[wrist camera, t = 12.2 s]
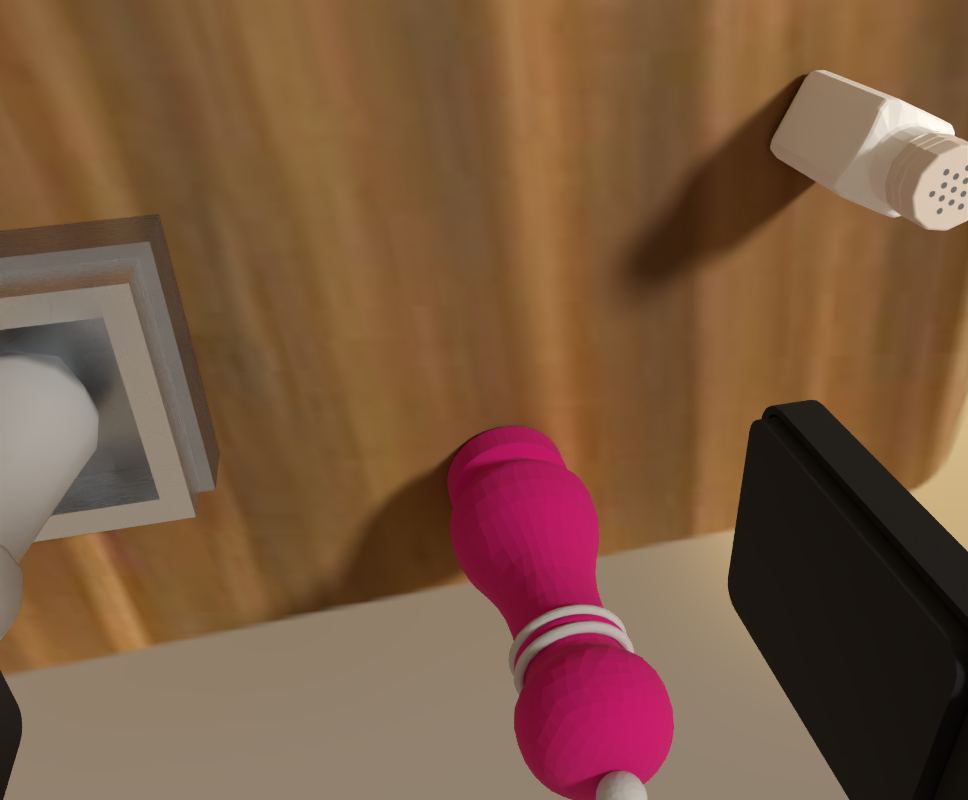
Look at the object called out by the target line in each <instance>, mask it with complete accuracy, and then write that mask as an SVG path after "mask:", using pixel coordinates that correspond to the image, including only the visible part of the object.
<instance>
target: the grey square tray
mask: <svg viewBox="0 0 968 800" xmlns="http://www.w3.org/2000/svg"><path fill="white" fill-rule="evenodd" d="M5 351H16V352H24V353H32V354H41V355H49V356H57V357H60V359H61V360H62V361H63V362H64V363H65V364H66V365H67V367H68V368H69V369H70V370H71V371H72V372H73V373H74V375H75V376H76V377H77V378H78V379H79V380H80V381H81V383H82V384H83V385H84V386H85V387H86V388H87V390H88V391H89V393H90V395H91V398H92V400H93V402H94V404H95V406H96V408H97V411H98V413H99V422H98V441H97V449H96V450H95V452H94V453H93V455H92V456H91V457H90V459H89V460H88V461H87V463H86V464H85V466H84V467H83V468H82V470H81V471H80V473H79V474H78V476H77V477H76V479H75V480H74V482H73V483H72V485H71V486H70V488H69V489H68V491H67V492H66V494H65V495H64V497H63V498H62V500H61V501H60V503H59V504H58V506H57V507H56V508H55V510H54V511H53V513H52V514H51V516H50V517H49V519H48V520H47V522H46V523H45V525H44V526H43V528H42V529H41V531H40V532H39V534H38V535H37V537H36V538H35V540H34V541H33V542H37V541H43V540H50V539H56V538H63V537H69V536H76V535H82V534H88V533H95V532H101V531H108V530H114V529H121V528H127V527H134V526H140V525H147V524H153V523H160V522H166V521H173V520H179V519H185V518H192V517H196V511H197V504H198V496H199V492H203V491H209V490H215V489H216V479H217V470H218V460H219V449H218V445H217V441H216V437H215V433H214V429H213V425H212V421H211V417H210V413H209V409H208V405H207V402H206V398H205V394H204V390H203V386H202V382H201V378H200V374H199V370H198V366H197V362H196V358H195V355H194V351H193V347H192V343H191V339H190V335H189V331H188V327H187V323H186V319H185V315H184V311H183V307H182V304H181V300H180V296H179V292H178V288H177V284H176V280H175V276H174V272H173V268H172V264H171V260H170V257H169V253H168V249H167V245H166V241H165V237H164V233H163V229H162V225H161V221H160V217H159V215H151V216H141V217H132V218H122V219H113V220H104V221H94V222H85V223H75V224H66V225H57V226H47V227H38V228H28V229H19V230H9V231H0V353H2V352H5Z"/></svg>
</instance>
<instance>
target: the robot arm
mask: <svg viewBox="0 0 968 800" xmlns="http://www.w3.org/2000/svg"><path fill="white" fill-rule="evenodd" d="M728 590H729V595H730V599H731V602H732V605H733V606H734V609H735V610H736V612H737V613H738V615H739V617H740V619H741V620H742V622H743V624H744V625H745V627H746V629H747V630H748V632H749V634H750V635H751V637H752V639H753V640H754V642H755V644H756V645H757V647H758V649H759V650H760V652H761V654H762V655H763V657H764V658H765V660H766V662H767V663H768V665H769V667H770V669H771V670H772V672H773V674H774V675H775V677H776V679H777V680H778V682H779V684H780V685H781V687H782V688H783V690H784V692H785V693H786V695H787V697H788V698H789V700H790V702H791V703H792V705H793V707H794V708H795V710H796V712H797V713H798V715H799V717H800V718H801V720H802V722H803V723H804V725H805V727H806V728H807V730H808V732H809V733H810V735H811V736H812V738H813V740H814V742H815V743H816V745H817V747H818V748H819V750H820V752H821V753H822V755H823V757H824V758H825V760H826V762H827V763H828V765H829V766H830V768H831V770H832V772H833V773H834V775H835V777H836V778H837V780H838V782H839V783H840V785H841V786H842V788H843V790H844V791H845V793H846V795H847V796H848V798H849V800H968V552H967V550H966V549H965V548H964V547H962V545H961V544H959V543H958V541H957V540H956V539H955V538H954V537H953V536H952V535H951V534H950V533H949V532H947V530H946V529H945V528H944V527H943V526H942V525H941V524H940V523H939V522H938V521H937V520H936V519H935V518H934V517H933V516H932V515H931V514H930V513H929V512H928V511H927V510H926V509H925V508H924V507H923V506H922V505H921V504H920V503H919V502H918V501H917V500H916V499H915V498H914V497H913V496H912V495H911V494H910V493H909V492H908V491H907V490H906V489H905V488H904V487H903V486H902V485H901V484H900V483H899V482H898V481H897V480H896V479H895V478H894V477H893V476H892V475H891V474H890V473H889V472H888V471H887V469H886V468H885V467H884V466H883V465H882V464H881V463H880V462H879V461H878V460H877V459H876V458H875V457H874V456H873V455H872V454H871V453H870V452H869V451H868V450H867V449H866V448H865V447H864V446H863V445H862V444H861V443H860V442H859V441H858V440H857V439H856V438H855V437H854V436H853V435H852V434H851V433H850V432H849V431H848V430H847V429H846V428H845V427H844V426H843V425H842V424H841V423H840V422H839V421H838V420H837V419H836V418H835V417H834V416H833V415H832V414H831V413H830V412H829V411H828V410H827V409H826V408H825V407H824V406H823V405H822V404H821V403H819V402H818V401H815V400H807V401H800V402H794V403H787V404H780V405H774V406H770V407H768V408H766V410H765V411H764V413H763V415H762V419H760V420H756V421H754V422H753V423H752V425H751V428H750V432H749V439H748V445H747V452H746V459H745V466H744V473H743V480H742V486H741V493H740V500H739V507H738V514H737V520H736V527H735V534H734V541H733V549H732V555H731V561H730V568H729V575H728ZM21 735H22V718H21V713H20V709H19V707H18V704H17V702H16V700H15V698H14V696H13V695H12V693H11V691H10V688H9V687H8V684H7V682H6V681H5V679H4V677H3V675H2V673H1V671H0V800H3V798H4V795H5V791H6V788H7V785H8V781H9V778H10V774H11V771H12V768H13V764H14V761H15V758H16V754H17V751H18V748H19V744H20V740H21Z"/></svg>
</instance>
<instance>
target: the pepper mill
mask: <svg viewBox="0 0 968 800" xmlns="http://www.w3.org/2000/svg"><path fill="white" fill-rule="evenodd" d="M447 488H448V493H449V497H450V500H451V504H452V508H453V512H452V516H451V519H450V538H451V543H452V546H453V549H454V552H455V555H456V558H457V560H458V562H459V565H460V567H461V569H462V570H463V571H464V573H465V574H466V576H467V577H468V579H469V580H470V581H471V583H472V584H473V585H474V586H475V587H476V588H477V589H478V590H479V591H480V592H481V593H483V594H484V595H485V596H486V597H487V598H488V599H489V600H490V601H491V602H492V603H493V604H494V605H495V606H496V607H497V608H498V609H499V611H500V612H501V614H502V615H503V617H504V618H505V620H506V622H507V624H508V627H509V629H510V631H511V634H512V636H513V640H514V642H513V644H512V646H511V649H510V653H509V666H510V669H511V672H512V674H513V676H514V684H515V687H516V690H517V692H518V693H519V698H518V701H517V703H516V707H515V713H514V729H515V733H516V738H517V742H518V745H519V748H520V751H521V753H522V755H523V758H524V760H525V762H526V764H527V765H528V767H529V769H530V770H531V771H532V773H533V774H534V776H535V777H536V778H537V779H538V780H539V781H540V782H541V783H542V784H543V785H545V786H546V787H547V788H548V789H550V790H551V791H553V792H555V793H557V794H559V795H561V796H563V797H566V798H569V799H573V800H647V793H646V790H645V788H644V785H643V784H645V783H646V782H647V781H648V780H650V778H652V776H653V775H654V774H655V773H656V772H657V771H658V770H659V768H660V767H661V765H662V764H663V762H664V761H665V759H666V756H667V755H668V752H669V750H670V747H671V743H672V739H673V731H674V723H673V710H672V706H671V703H670V699H669V696H668V693H667V690H666V688H665V685H664V684H663V682H662V680H661V679H660V677H659V676H658V674H657V672H656V671H655V670H654V669H653V668H652V667H651V666H650V665H649V664H648V663H647V662H646V661H645V660H644V659H643V658H642V657H640V656H638V655H636V654H634V649H633V646H632V643H631V642H630V640H629V638H628V637H627V635H626V630H625V628H624V625H623V623H622V622H621V621H620V619H619V618H618V617H617V616H616V615H614V614H613V613H612V612H610V611H608V610H606V609H604V608H603V606H602V603H601V600H600V597H599V593H598V590H597V585H596V576H595V570H596V558H597V552H598V546H599V526H598V517H597V514H596V511H595V507H594V505H593V502H592V499H591V496H590V493H589V491H588V490H587V488H586V487H585V485H584V484H583V482H582V481H581V480H580V479H579V478H578V477H577V476H576V475H575V474H574V473H572V472H571V471H569V470H568V469H567V468H566V466H565V464H564V462H563V459H562V457H561V455H560V453H559V451H558V449H557V447H556V446H555V444H554V443H553V442H552V441H551V440H550V439H549V438H548V437H546V436H545V435H544V434H542V433H540V432H538V431H536V430H533V429H529V428H525V427H519V426H510V427H499V428H496V429H492V430H489V431H486V432H484V433H482V434H480V435H478V436H477V437H475V438H473V439H471V440H470V441H469V442H468V443H467V444H466V445H465V446H464V447H462V448H461V450H460V451H459V452H458V453H457V455H456V456H455V457H454V459H453V461H452V463H451V465H450V468H449V472H448V476H447Z"/></svg>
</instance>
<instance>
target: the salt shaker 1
mask: <svg viewBox="0 0 968 800" xmlns="http://www.w3.org/2000/svg"><path fill="white" fill-rule="evenodd" d="M98 422H99V413H98V411H97V408H96V406H95V404H94V402H93V400H92V398H91V395H90V393H89V391H88V390H87V388H86V387H85V386H84V385H83V384H82V383H81V381H80V380H79V379H78V378H77V377H76V376H75V375H74V373H73V372H72V371H71V370H70V369H69V368H68V367H67V365H66V364H65V363H64V362H63V361H62V360H61V359H60V357H57V356H49V355H41V354H32V353H24V352H16V351H5V352H2V353H0V641H1V639H2V638H3V637H4V635H5V634H6V633H7V631H8V630H9V628H10V627H11V625H12V623H13V622H14V620H15V619H16V617H17V616H18V613H19V609H20V606H21V602H22V583H23V576H22V569H21V568H20V566H19V565H18V564H19V562H20V561H21V559H22V558H23V556H24V555H25V553H26V552H27V550H28V549H29V547H30V546H31V544H32V543H33V541H34V540H35V538H36V537H37V535H38V534H39V532H40V531H41V529H42V528H43V526H44V525H45V523H46V522H47V520H48V519H49V517H50V516H51V514H52V513H53V511H54V510H55V508H56V507H57V506H58V504H59V503H60V501H61V500H62V498H63V497H64V495H65V494H66V492H67V491H68V489H69V488H70V486H71V485H72V483H73V482H74V480H75V479H76V477H77V476H78V474H79V473H80V471H81V470H82V468H83V467H84V466H85V464H86V463H87V461H88V460H89V459H90V457H91V456H92V455H93V453H94V452H95V450H96V449H97V441H98Z"/></svg>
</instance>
